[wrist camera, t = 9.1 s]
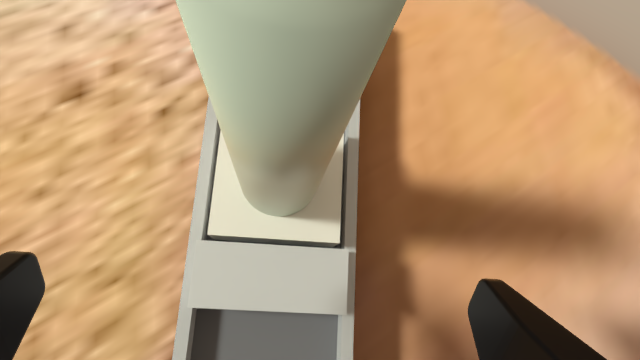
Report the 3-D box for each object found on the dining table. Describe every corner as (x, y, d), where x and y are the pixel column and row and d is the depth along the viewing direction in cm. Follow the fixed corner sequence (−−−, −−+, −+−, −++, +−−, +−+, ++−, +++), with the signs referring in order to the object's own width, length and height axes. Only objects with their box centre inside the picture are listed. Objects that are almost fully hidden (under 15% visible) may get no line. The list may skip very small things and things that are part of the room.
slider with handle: (332, 247, 17) (529, 131, 4) (214, 239, 17) (-13, 79, 3) (336, 143, 19) (497, -210, 5) (227, 133, 18) (98, -286, 5)
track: (340, 410, 17) (356, 442, 14) (178, 407, 17) (154, 439, 13) (353, 24, 22) (367, -21, 19) (230, 9, 22) (223, -41, 18)
